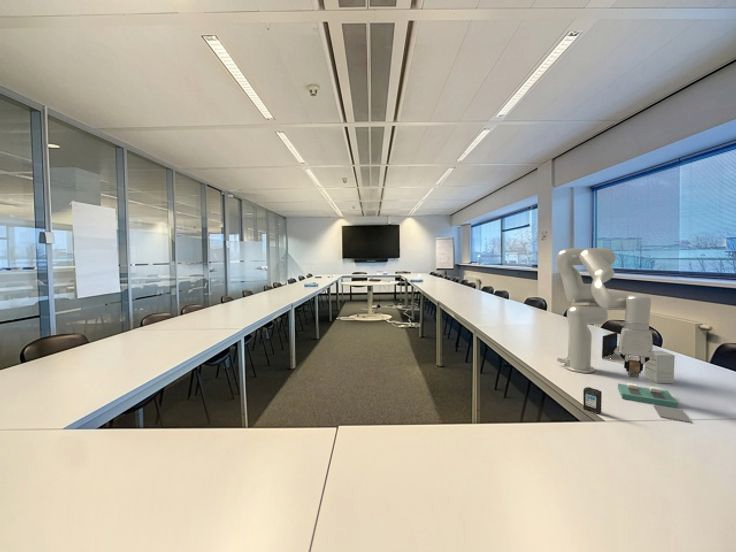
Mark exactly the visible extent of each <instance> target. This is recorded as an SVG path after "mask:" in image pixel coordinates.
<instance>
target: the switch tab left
mask: <svg viewBox="0 0 736 552" xmlns="http://www.w3.org/2000/svg"><path fill="white" fill-rule="evenodd" d="M627 385H628V388H633V389H638V387H639V385H638V384H635V383H629V382H627Z"/></svg>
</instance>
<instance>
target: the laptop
mask: <svg viewBox="0 0 736 552" xmlns="http://www.w3.org/2000/svg"><path fill="white" fill-rule="evenodd" d="M618 336H619V335H618V332H617V331H616V332H612V333H608V334H605V335H602V341H601V345H602V346H601V359H602V360H604V359H606V360H605V361H608V360H609V362H613V363H618V364H622V365H624V361H625V360H624V359H623V358H622V357H621V356H619V355H617V354H616V353H614V350H615V349H616V348H617V347H618ZM629 356H630V357H629V360H637V361H639V357H638V356H633V355H629ZM610 358H611V359H610Z"/></svg>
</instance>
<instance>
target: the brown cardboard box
mask: <svg viewBox="0 0 736 552" xmlns="http://www.w3.org/2000/svg"><path fill="white" fill-rule="evenodd" d="M629 362H630V366H629V372H627V376H628V377H629V378H634V379H640V373H639V371H640V363H639V361H637V360H629Z"/></svg>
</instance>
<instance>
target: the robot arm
mask: <svg viewBox="0 0 736 552" xmlns="http://www.w3.org/2000/svg"><path fill="white" fill-rule="evenodd" d="M616 257H617V256H616V253H615V252H614V251H613V250H612V249H610V248H607V247H605V248H604V247H602V248H601V247H599V248H598V247H592V248H591V247H590V248H588V247H587V248H586V247H585V248H582V247H581V248H578V247H577V248H574V247H572V248H571V247H570V248H564V249H561V250H560V251H558V253H557V255H556V258H555V265H556V268H557V271H558V272H559V275H560V278H561V281H562V285H563V290H564V293H565V297H566V299H567V301H568V302H569V303H573V304H574V305H572V306H570V307H569V308H568V309H567V311H566V319H567V325H568V348H567V357H564V358H561V357H557V359H556V361H557V362H560V363H559V364H564V365H563V367H564V368H565V369H566V370H568V371H571V372H575V373H582V374H590V373H594V372H595V368H594V366H591V365H592V359H591V358H592V338H593V337H592V335H593V334H592V332H591V330H590V328H589V327H588V325H589V326H590V325H603V324H605V323H606V322H607V321H608V319H609V313H608V311H625V312H624V313H625V314H624V320H623V321H620V322H619V326H622V328H621V331H620V335H619V338H618V339H619V340H618V344H617V348H616V349H615V350H614V353H616V354H617V355H619V356H621V357H622V358H623V359H624V360H625V361H624V364H623V367H624V368H623V369H625V371H626V372H627V373H628V372H629V366H630V362H629V356H633V357H638V358H639V363H640V371H639V375H640V374H642V372H643V371H644V365H645V362H647V361H649V360H651V359H655V358H656V356H655V354H654V352H653V351H654V349H653V348H654V347H653V334H652V333H653V332H652V331H651V330H649V329H650V320H651V319H650V318H651V308H652V307H651V306H652V299H651V297H649V295H643V294H637V293H634V292H630V291H609V290H608V289H607V287H606V286H605V284H604V283H607V282H608V281H610V280H611V279H612V278H613V277H614V275H615V270H614V269H613V268H612V265H613V264H614V263H616V260H617V258H616ZM575 266H583V267H584V268H585V270H586V271H587V273H588V274H589V276H590V277H591V278H592V282H591V283H584V282H583V277H582V275H581V273H580V272H579V270H578V269H577V268H576V267H575ZM575 304H576V305H575Z"/></svg>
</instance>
